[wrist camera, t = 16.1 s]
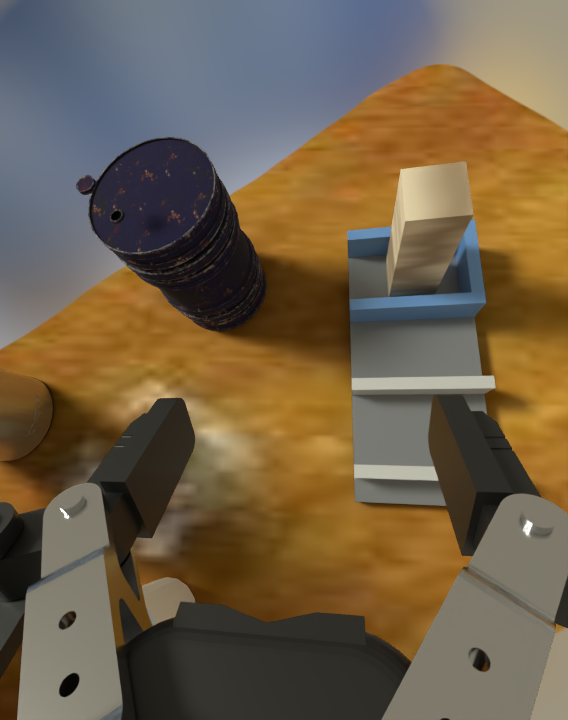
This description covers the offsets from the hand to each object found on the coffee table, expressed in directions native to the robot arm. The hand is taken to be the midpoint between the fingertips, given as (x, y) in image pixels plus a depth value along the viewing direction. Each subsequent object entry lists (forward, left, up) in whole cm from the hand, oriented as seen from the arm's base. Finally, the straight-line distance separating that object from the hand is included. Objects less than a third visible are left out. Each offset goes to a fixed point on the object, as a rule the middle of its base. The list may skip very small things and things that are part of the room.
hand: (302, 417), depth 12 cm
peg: (+7, +15, -21) cm, 27 cm away
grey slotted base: (+7, +8, -22) cm, 25 cm away
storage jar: (-12, +16, -22) cm, 30 cm away
